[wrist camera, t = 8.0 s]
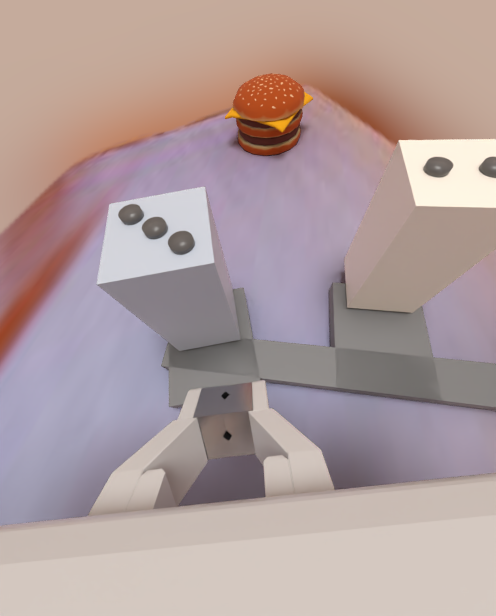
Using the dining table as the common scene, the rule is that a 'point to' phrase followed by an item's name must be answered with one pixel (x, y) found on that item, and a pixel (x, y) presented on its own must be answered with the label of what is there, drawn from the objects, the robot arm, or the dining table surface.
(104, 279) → the key three dots
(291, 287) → the dining table surface
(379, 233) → the key two dots
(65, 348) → the dining table surface
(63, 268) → the dining table surface
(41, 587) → the robot arm
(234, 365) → the grey flat piece
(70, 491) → the dining table surface
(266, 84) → the hamburger
